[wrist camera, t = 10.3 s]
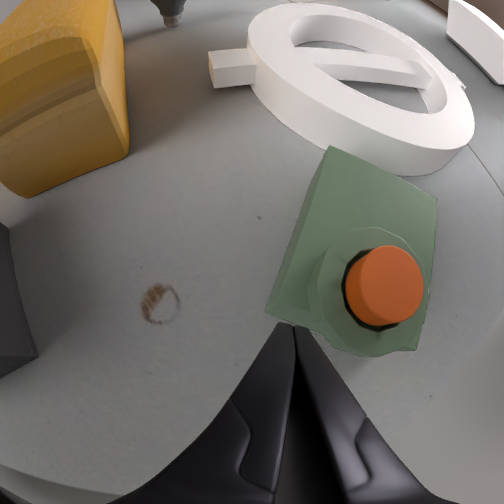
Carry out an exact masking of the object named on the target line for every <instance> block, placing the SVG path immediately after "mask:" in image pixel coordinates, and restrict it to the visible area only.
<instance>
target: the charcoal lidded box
mask: <svg viewBox="0 0 504 504" xmlns="http://www.w3.org/2000/svg"><path fill="white" fill-rule="evenodd" d="M37 357H38V354H37V351H36V349H35V346H34V343H33V340H32V337H31V334H30V331H29V328H28V324H27V321H26V318H25V314H24V311H23V307H22V303H21V299H20V295H19V291H18V287H17V282H16V277H15V273H14V267H13V262H12V256H11V250H10V243H9V235H8V228H7V227H6V226H4V225H3V224H2V223H0V378H2V377H3V376H5V375H7V374H9V373H11V372H12V371H14V370H16V369H18V368H19V367H21V366H23V365H25V364H27V363H28V362H30V361H32V360H34V359H36V358H37Z"/></svg>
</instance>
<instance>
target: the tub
mask: <svg viewBox="0 0 504 504" xmlns="http://www.w3.org/2000/svg"><path fill="white" fill-rule="evenodd" d="M446 35H447V37H448V39H449V40H451V41H452V42H453V43H454V44H455V45H456V46H457V47H458V48H459V49H460V50H461V51H462V52H464V53H465V54H466V55H467V56H468V57H469V58H470V59H471V60H472V61H473V62H474V63H475V64H476V65H477V66H478V67H479V68H480V69H481V70H482V71H483V72H484V73H485V74H486V75H487V77H488V78H489V79H490V80H491V81H492V82H493V83H494V84H498V85H504V31H503V30H502V29H501V28H500V27H499V26H498V25H497V24H496V23H495V22H493V21H492V20H491V19H490V18H488V17H487V16H486V15H484V14H483V13H482V12H481V11H479V10H478V9H476V8H475V7H473V6H471V5H470V4H468V3H466V2H464V1H462V0H449V10H448V22H447V31H446Z"/></svg>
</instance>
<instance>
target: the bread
mask: <svg viewBox="0 0 504 504" xmlns="http://www.w3.org/2000/svg"><path fill="white" fill-rule="evenodd" d="M129 147H130V133H129V122H128V112H127V100H126V87H125V69H124V44H123V37H122V29H121V24H120V20H119V16H118V12H117V8H116V5H115V1H114V0H23V1H22V2H21V3H20V4H19V5H18V7H16V8H15V9H14V10H13V12H12V13H11V14H10V15H9V16H8V17H7V18H6V19H5V20H4V21H3V22H2V24H1V25H0V183H1V184H3V185H4V186H5V187H6V188H8V189H9V190H10V191H12V192H14V193H15V194H17V195H19V196H22V197H24V198H31V197H33V196H35V195H37V194H39V193H41V192H43V191H46V190H48V189H50V188H52V187H54V186H57V185H59V184H61V183H63V182H66V181H68V180H70V179H73V178H75V177H77V176H80V175H82V174H85V173H87V172H90V171H92V170H95V169H97V168H100V167H103V166H105V165H108V164H111V163H114V162H116V161H119V160H121V159H123V158H124V157H126V155H127V154H128V152H129Z"/></svg>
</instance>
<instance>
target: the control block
mask: <svg viewBox="0 0 504 504" xmlns="http://www.w3.org/2000/svg"><path fill="white" fill-rule="evenodd" d="M436 218H437V198H435V197H433V196H432V195H430V194H428V193H427V192H425V191H423V190H421V189H420V188H418V187H416V186H414V185H412V184H410V183H409V182H407V181H405V180H403V179H401V178H399V177H397V176H395V175H393V174H392V173H390V172H388V171H386V170H384V169H382V168H380V167H378V166H375V165H373V164H371V163H369V162H367V161H365V160H363V159H361V158H359V157H356V156H354V155H352V154H350V153H347V152H345V151H343V150H341V149H338V148H336V147H334V146H331V145H329V146H328V148H327V150H326V152H325V154H324V157H323V159H322V161H321V163H320V165H319V167H318V169H317V171H316V173H315V175H314V177H313V179H312V181H311V183H310V186H309V189H308V192H307V195H306V198H305V200H304V203H303V206H302V209H301V212H300V215H299V218H298V221H297V224H296V226H295V229H294V232H293V235H292V238H291V240H290V243H289V246H288V249H287V252H286V254H285V257H284V260H283V263H282V265H281V268H280V271H279V273H278V276H277V279H276V282H275V284H274V287H273V290H272V292H271V295H270V298H269V300H268V303H267V305H266V308H265V313H268V314H270V315H273V316H276V317H278V318H281V319H284V320H286V321H289V322H292V323H295V324H297V325H300V326H303V327H306V328H308V329H311V330H314V331H317V332H320V333H322V335H323V336H324V337H325V338H326V339H327V341H328V342H329V343H330V344H331V345H332V347H334V348H336V349H339V350H342V351H345V352H348V353H351V354H354V355H358V356H363V357H379V356H382V355H385V354H388V353H391V352H394V351H415V350H416V349H417V345H418V341H419V337H420V332H421V328H422V325H423V324H424V320H425V315H426V310H427V305H428V299H429V286H430V279H431V272H432V264H433V255H434V245H435V234H436ZM387 245H388V246H395V247H398V248H401V249H402V250H404V251H405V252H407V253H408V254H409V255H410V256H411V257H412V258H413V259H414V261H415V262H416V264H417V265H418V267H419V270H420V272H421V276H422V280H423V295H422V299H421V302H420V305H419V307H418V308H417V310H416V311H415V313H414V314H413V315H412V316H411V317H409V318H408V319H406V320H405V321H402V322H398V323H393V324H387V325H381V326H374V325H369V324H367V323H365V322H363V321H361V320H360V319H359V318H358V317H357V316H356V315H355V314H354V313H353V311H352V310H351V308H350V306H349V304H348V302H347V298H346V292H345V285H346V278H347V275H348V273H349V271H350V269H351V267H352V266H353V265H354V264H355V263H356V262H357V261H358V260H359V259H361V258H362V257H364V256H365V255H366V254H368V253H369V252H371V251H372V250H374V249H375V248H378V247H380V246H387Z"/></svg>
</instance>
